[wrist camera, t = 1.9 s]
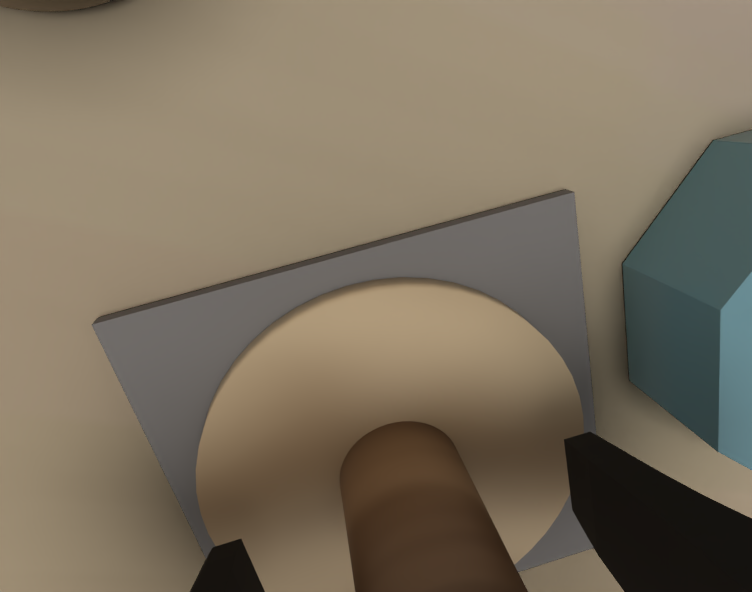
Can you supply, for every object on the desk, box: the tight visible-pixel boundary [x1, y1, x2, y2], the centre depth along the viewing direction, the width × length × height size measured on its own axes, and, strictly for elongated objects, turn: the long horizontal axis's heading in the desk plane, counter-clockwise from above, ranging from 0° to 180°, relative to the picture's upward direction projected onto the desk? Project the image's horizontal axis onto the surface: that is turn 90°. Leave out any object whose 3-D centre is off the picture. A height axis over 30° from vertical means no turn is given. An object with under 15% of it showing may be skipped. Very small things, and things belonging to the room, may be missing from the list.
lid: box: [196, 277, 584, 592], centre depth 11 cm, size 10×10×5 cm
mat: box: [92, 189, 596, 572], centre depth 14 cm, size 11×11×1 cm
